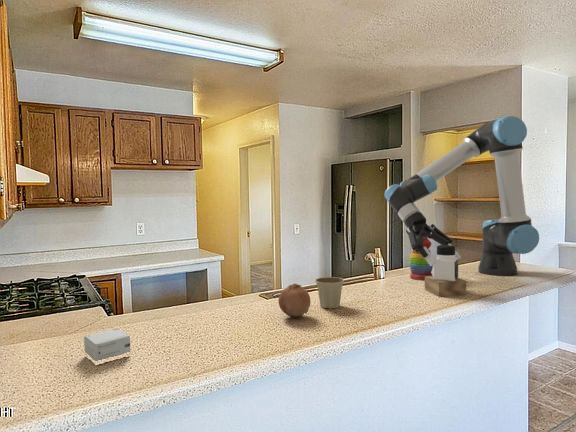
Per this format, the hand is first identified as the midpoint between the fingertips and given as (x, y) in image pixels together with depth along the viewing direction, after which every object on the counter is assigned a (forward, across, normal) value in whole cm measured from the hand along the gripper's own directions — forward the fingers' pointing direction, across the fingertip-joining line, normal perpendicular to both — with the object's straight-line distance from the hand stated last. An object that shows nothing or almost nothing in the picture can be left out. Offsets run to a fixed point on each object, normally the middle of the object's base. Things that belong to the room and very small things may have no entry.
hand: (446, 261), depth 144 cm
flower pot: (0, +44, -16) cm, 46 cm away
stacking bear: (-8, -14, -24) cm, 28 cm away
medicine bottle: (+4, 0, -4) cm, 6 cm away
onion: (+2, +59, -14) cm, 61 cm away
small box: (+2, +110, -14) cm, 111 cm away
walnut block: (+7, 0, -8) cm, 11 cm away
